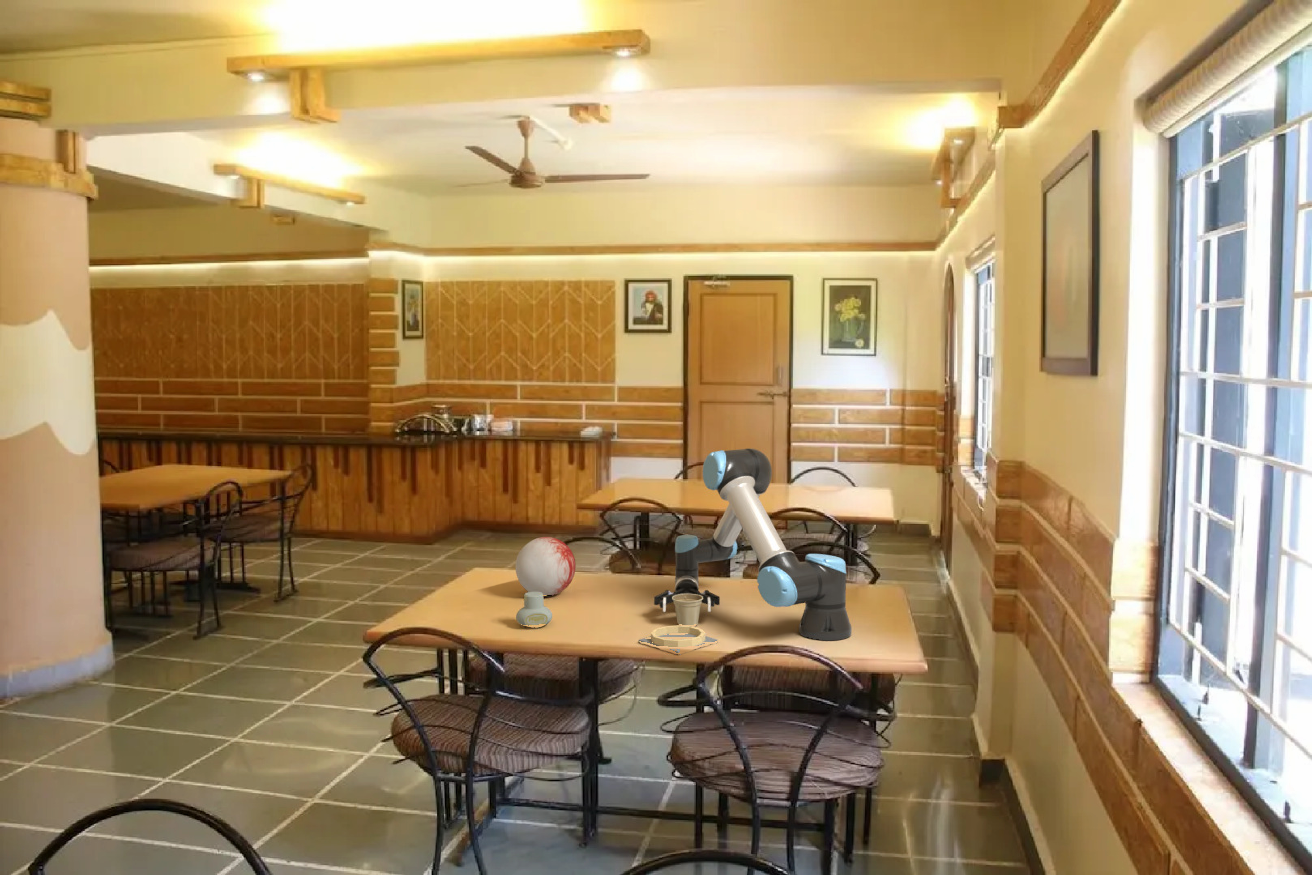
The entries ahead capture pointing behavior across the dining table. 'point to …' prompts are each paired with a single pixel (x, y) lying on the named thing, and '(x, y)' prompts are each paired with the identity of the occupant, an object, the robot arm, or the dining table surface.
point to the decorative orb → (545, 566)
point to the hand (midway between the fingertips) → (686, 607)
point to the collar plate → (692, 632)
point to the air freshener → (534, 610)
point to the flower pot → (687, 608)
